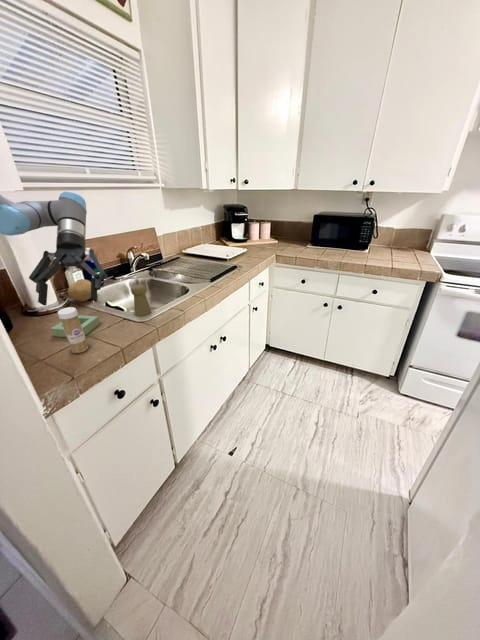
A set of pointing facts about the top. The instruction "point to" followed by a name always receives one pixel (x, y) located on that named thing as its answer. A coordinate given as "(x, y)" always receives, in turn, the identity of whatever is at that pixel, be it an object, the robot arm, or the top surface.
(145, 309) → the olive chess piece
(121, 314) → the top surface
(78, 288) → the potato
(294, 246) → the top surface
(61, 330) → the holder
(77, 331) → the sprinkles bottle
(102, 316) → the top surface
